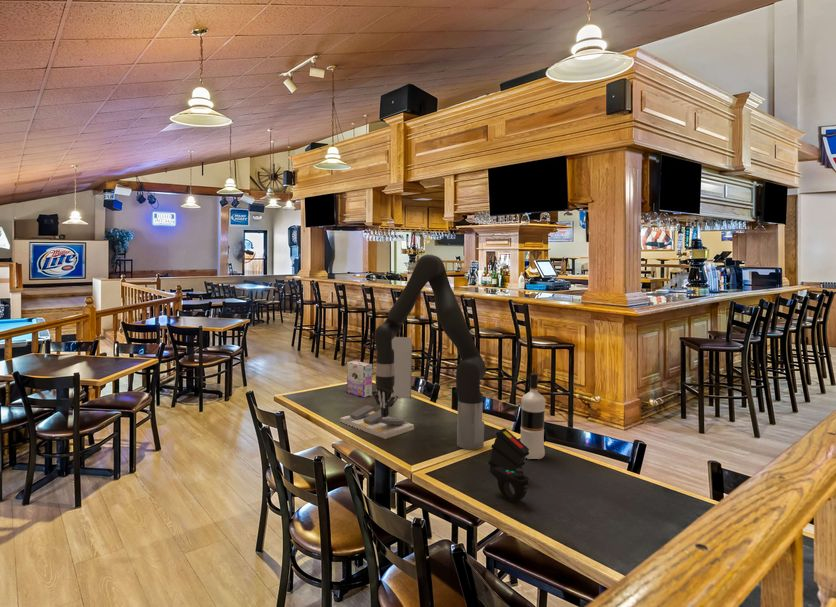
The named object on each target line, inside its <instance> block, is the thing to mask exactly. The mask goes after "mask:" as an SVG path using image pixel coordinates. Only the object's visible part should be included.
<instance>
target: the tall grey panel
mask: <svg viewBox="0 0 836 607" xmlns="http://www.w3.org/2000/svg"><path fill="white" fill-rule="evenodd" d="M412 348H413V337H408V336H407V337H404V336H395V337H394V338H393V339H392V349H393V350H394V366H395V384H394V386H393V390H394V395H395V396H398V399H409V398H411V397H412V362H413V361H412V357H413V354H412V353H413V352H412Z"/></svg>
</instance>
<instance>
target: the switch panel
mask: <svg viewBox="0 0 836 607" xmlns="http://www.w3.org/2000/svg"><path fill="white" fill-rule="evenodd" d="M375 412H376V411H375V410H374V411H372V412H370V413H368V414H366V415H365V416H363V417H361V418H359V419H355V418H352V417H350V415H346V416H342V417H340V418H339V420H340V423H341V422H342V423H341V424H343V423H345V424H344V425H346V424H347V425H346V426H349V425H350V426H349V427H352V426H353V427H352V428H354V427H355V428H354V429H357V428H358V430H360V429H361V430H360V431H362V430H363V432H366V433H368V434H371V435H374V436H376V437H379V438H381V439H385V440H386V439H390V438H393V437H397V436H399V435H401V434H405V433H408V432H410V431H414V430H415V424H413V423H410V422H408V421H405V424H384V423H381V422H379V420H378V421H377V422H375V423H373V424H369V423H366V422H364V421H363V419H364V418H366V417H368V416H369V415H371V414H373V413H375ZM390 418H394V417H392V416H389V415H388V416H387V417H384V418H382V419H390Z"/></svg>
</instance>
